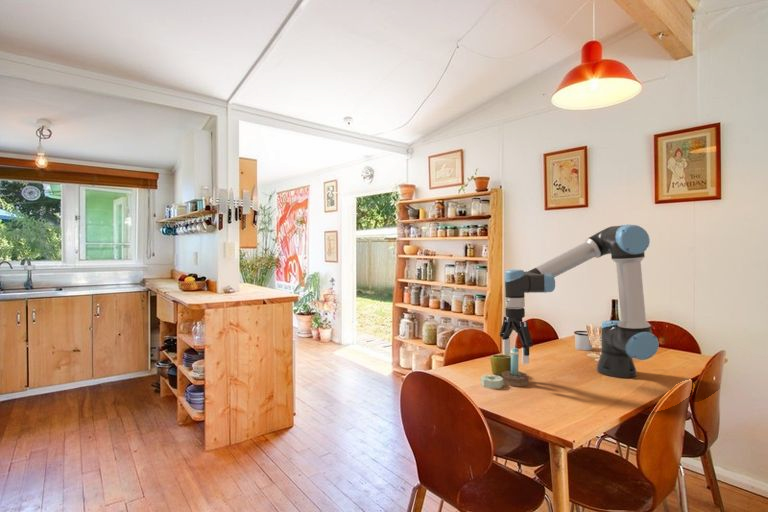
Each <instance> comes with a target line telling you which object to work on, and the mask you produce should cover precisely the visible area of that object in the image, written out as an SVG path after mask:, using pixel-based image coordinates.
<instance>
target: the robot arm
mask: <svg viewBox="0 0 768 512" xmlns="http://www.w3.org/2000/svg"><path fill="white" fill-rule="evenodd" d="M650 241H651V240H650V236H649V233H648V231H646V230H645V229H644V228H643V227H641V226H640V225H637V224H623V225H622V224H621V225H613V226H609V227H608V226H607V227H606V228H603V230H600V231H598V232H596V233H595V234H593V235H591V236H590V237H587V238H586V239H585V241H584V242H583V243H581V244H578V245H576V246H575V247H573V248H571V249H569V250H567V251H565V252H563V253H561V254H560V255H557V256H555V257H553V258H551V259H550V260H547V261H546V262H544V263H542V264H540V265H538V266H536V267H534V268H532V269H530V270H527V271H524V270H523V269H508V270H506V271H505V272H504V273H505V275H504V287H505V289H504V291H505V295H504V297H505V300H504V301H505V316H503V323H502V325H501V329H500V332H499V337H501V338H502V349H503V353H502V354H503V355H511V340H510V338H511V337H510V336H511V335H512V332H513V331H514V332H515V333H517V336H518V338H519V341H520V342H521V344H522V346H521V364H523V365H525V364H530V348H532V347H534V343H533V340H532V336H531V334H530V329H529V325H528V324H529V323H528V321H523V318H525V317H526V315H525V313H526V311H525V308H524V307H525V306H526V305H525V304H526V303H525V301H526V300H525V293H526V294H530V293H535V294H537V293H544V294H546V293H552V292H553V291H554V290H555V289H556V279H555V277H556V278H557V277H558V276H560V275H562V274H564V273H566V272H567V271H570V270H572V269H574V268H576V267H577V266H580V265H582V264H583V263H585V262H587V261H589V260H592V259H593V258H596V259H598V258H601V257H603V256H606V255H610V256H611V258H610V259H611V260H612V261H613V262H615V265H616V266H615V267H616V275H617V276H616V278H617V288H618V289H617V290H618V299H619V309H620V320H604V321H602V322H601V328H600V329H601V337H600V338H601V341H600V345H601V347H600V349H601V353H600V357H599V359H598V361H597V363H596V371H597V372H598V373H600V374H603V375H605V376H609V377H614V378H623V379H624V378H627V379H629V378H635V377H636V376H637V368H636V366H635V363H634V360H633V359H636V360H639V361H644V360H645V361H646V360H648V359H651V358H652V357H653V356H654V355H655V354H657V352H658V350H659V347H660V346H659V345H660V343H659V340H658V338H657V336H656V335H655V334H653V333H652V324H651V323H649V321H647V319H646V307H645V295H644V285H643V274H642V272H643V271H642V263H641V262H642V261H643V260H644V259H645V257H646V256H645V252H646V251H647V248H649V247H650Z"/></svg>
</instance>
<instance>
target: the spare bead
mask: <svg viewBox="0 0 768 512" xmlns="http://www.w3.org/2000/svg"><path fill="white" fill-rule="evenodd" d="M480 385H481V386H482V387H483V388H486V389H492V390H495V389H502V388H503V387H504V384H503V378H502V376H496V375H494V374H484V375H481V377H480Z"/></svg>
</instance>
